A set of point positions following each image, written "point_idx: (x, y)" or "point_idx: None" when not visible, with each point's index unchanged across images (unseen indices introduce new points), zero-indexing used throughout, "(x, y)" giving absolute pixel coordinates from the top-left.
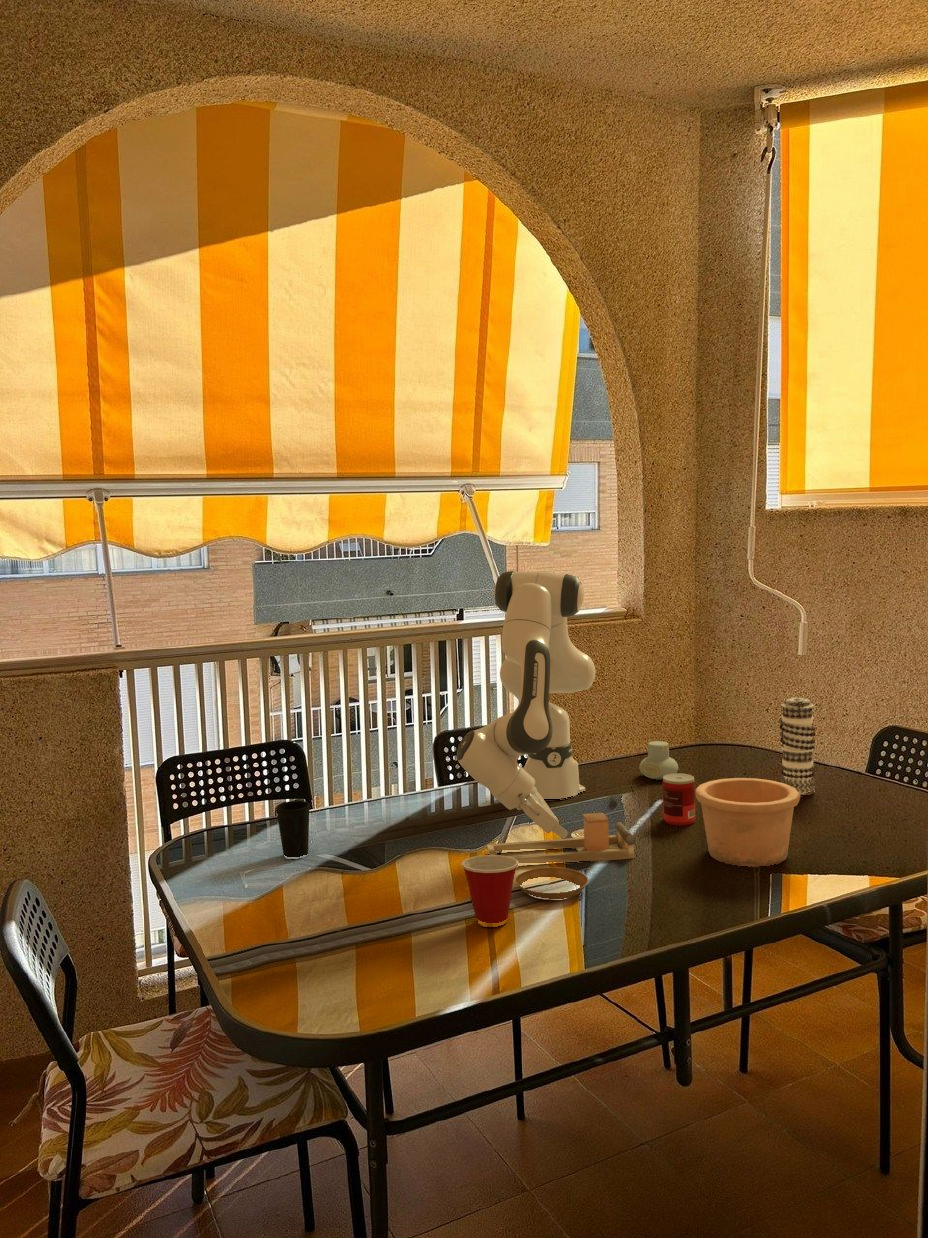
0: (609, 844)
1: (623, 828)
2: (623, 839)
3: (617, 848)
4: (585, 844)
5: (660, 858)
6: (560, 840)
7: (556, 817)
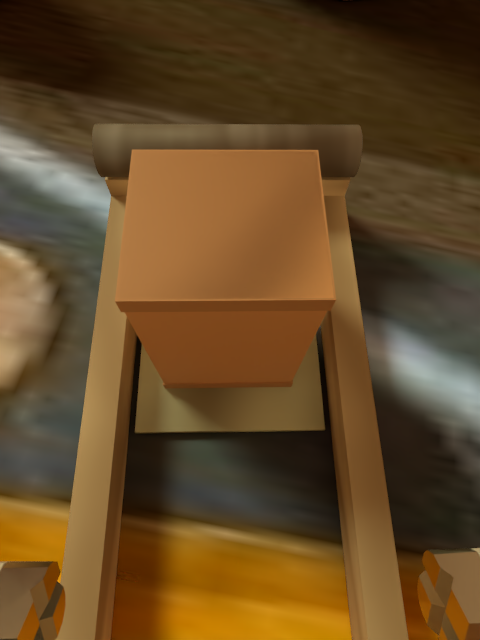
0: None
1: (214, 134)
2: None
3: None
4: (197, 377)
5: (342, 123)
6: (96, 532)
7: (6, 595)
